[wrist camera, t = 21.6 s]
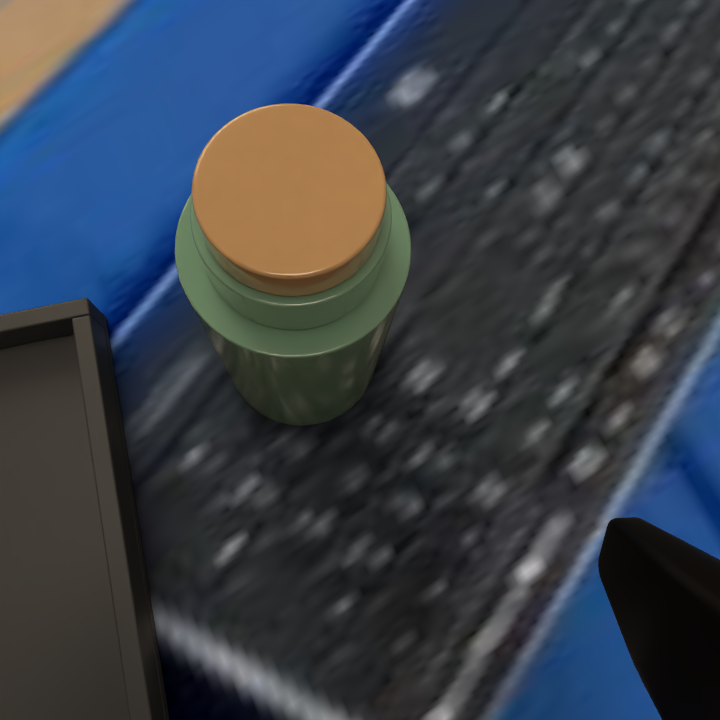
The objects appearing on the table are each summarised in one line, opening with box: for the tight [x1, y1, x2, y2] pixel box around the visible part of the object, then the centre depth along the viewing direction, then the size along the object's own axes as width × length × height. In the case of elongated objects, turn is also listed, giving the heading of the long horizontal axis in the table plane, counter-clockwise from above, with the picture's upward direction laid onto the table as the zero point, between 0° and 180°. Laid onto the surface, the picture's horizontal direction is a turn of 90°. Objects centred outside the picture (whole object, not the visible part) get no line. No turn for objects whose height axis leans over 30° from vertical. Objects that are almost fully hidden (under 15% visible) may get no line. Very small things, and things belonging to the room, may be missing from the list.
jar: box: [175, 104, 411, 425], centre depth 18 cm, size 5×5×12 cm
